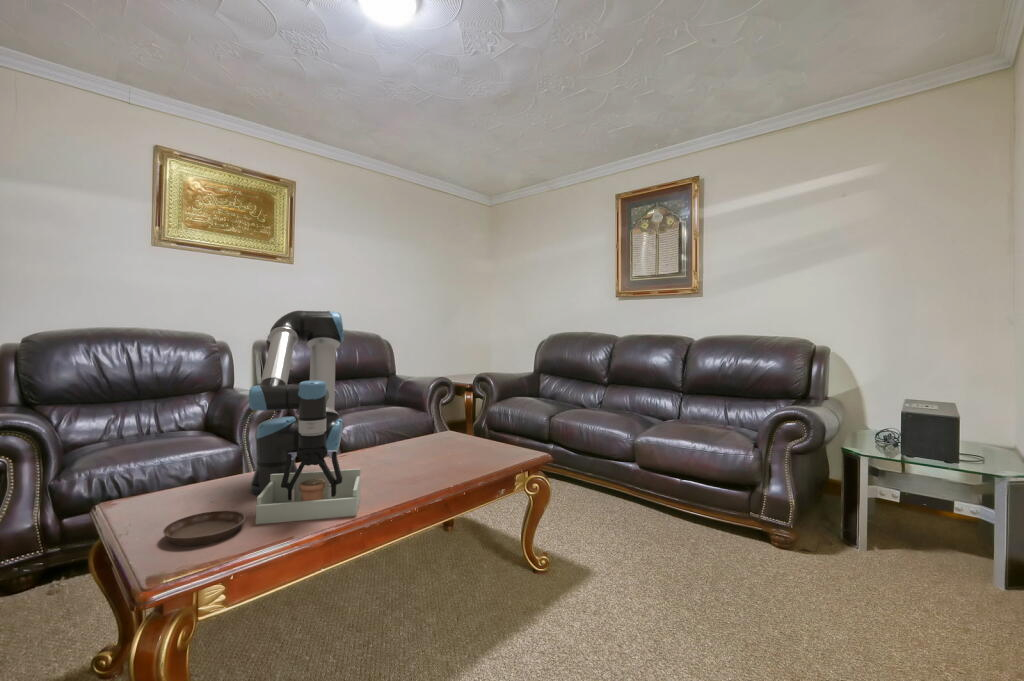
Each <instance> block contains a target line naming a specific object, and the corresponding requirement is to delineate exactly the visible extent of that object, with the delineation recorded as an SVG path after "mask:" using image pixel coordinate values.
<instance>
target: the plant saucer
mask: <svg viewBox="0 0 1024 681" xmlns="http://www.w3.org/2000/svg"><path fill="white" fill-rule="evenodd" d="M245 519H246V516H245V514H243V513H242V512H239V511H234V510H216V511H215V510H214V511H213V510H212V511H208V512H202V513H195V514H193V515H189V516H185V517H182V518H179V519H177V520H175V521H173V522H171V523H169V524H168V525H166V526H165V527H164V528H163V530H162V533H163V536H165V538H166V539H167V540H169V541H170V542H171V543H173V544H175V545H179V546H187V545H189V546H198V545H199V544H200V545H205V543H206V544H210V543H209V542H211V543H213V541H214V542H218V541H221V540H223V539H225V538H227V536H228V537H230V536H231V535H233V534H234V533H235V532H236V531H237V530H238V529H239V528H240V527H241V526H242V525H243V523H244V522H245ZM229 535H230V536H229ZM220 539H221V540H220ZM217 540H218V541H217Z"/></svg>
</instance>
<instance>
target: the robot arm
mask: <svg viewBox="0 0 1024 681" xmlns="http://www.w3.org/2000/svg"><path fill="white" fill-rule="evenodd" d="M268 340H269V343H270V344H269V348H268V351H267V352H268V353H267V355H266V356H267V357H266V361H265V363H264V368H263V372H262V374H261V375H262V376H261V380H260V383H259V384H258V385H253V386H251V387H250V389H249V391H248V405H249V408H250V409H251V410H252V411H265V412H266V411H279V410H298V420H297V419H296V417H295V416H283V417H282V416H281V417H276V418H275V417H274V418H270V419H268V420H264V421H262V422H260V423H259V424H258V425H257V427H256V436H255V439H256V441H255V442H256V444H255V445H256V451H255V452H256V468H255V471H254V474H253V476H252V479H251V482H250V488H249V489H250V493H251V494H252V495H257V496H259V495H260V493H261V492H262V491H263V490H264V489H265V487H266V486H267V485H268V484H269V483H270V475H271V474H282V473H284V476H283V479H282V483H281V487H282V488H287V489H288V500H292V502H296V487H293V486H294V484H295V482H296V480H297V478H298V477H299V475H300V473H301V472H302V471H303V469H304V467H305V466H306V467H310V466H319V468H320V469H321V471H323V472H324V474H325V476H326V477H327V479H328V481H329V483H330V485H329V487H328V499H332V497H335V495H336V485H337V484H341V483H342V480H343V479H342V475H341V471H340V470H341V468H340V464H339V460H338V451H339V449H340V445H341V441H342V433H343V425H344V419H342V418H341V417H339V416H340V415H339V413H338V411H336V410H335V400H336V399H335V398H336V397H335V396H336V394H335V392H336V390H335V389H336V357H337V355H336V354H337V353H336V352H337V351H336V350H337V349H339V348H340V347H341V343H342V342H344V341H345V333H344V325H343V319H342V314H341V313H340V312H339V311H331V310H327V311H326V310H325V311H321V310H294V311H293V310H292V311H290V312H288V313H286V314H284V315H283V316H280V318H278V319H277V320H276V321H275V323H273V325H272V327H271V328H270V331H269V334H268ZM298 342H305V343H306V346H307V347H308V348H309V349H310V362H309V363H310V365H309V380H304V381H301V382H299V384H288V381H289V377H290V372H291V371H290V370H291V365H292V360H293V354H294V348H295V346H296V345H297V344H298ZM327 455H328V456H329V459H331V463H332V464H331V465H332V467H333V470H334V471H335V475H336V480H335V478H334V476H333V475H332V473H331V471H330V470H331V469H330V468H329V466H328V465H327V462H326V460H325V458H326V457H327ZM296 458H298V459H299V460H300V464H299V465H298V467H297V465H296ZM290 473H295V475H294V476H293V478H292V480H291V482H290V483H288V478H289V475H290Z"/></svg>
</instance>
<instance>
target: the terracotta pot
mask: <svg viewBox="0 0 1024 681" xmlns="http://www.w3.org/2000/svg"><path fill="white" fill-rule="evenodd" d="M324 487H325V480H323V479H310V480H305V481H303V482H301V483H300V484H299V490H300V491H301V501H313V500H323V488H324Z"/></svg>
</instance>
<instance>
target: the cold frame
mask: <svg viewBox="0 0 1024 681" xmlns="http://www.w3.org/2000/svg"><path fill="white" fill-rule="evenodd" d="M329 470H330V471H331V473H332V475H333V476H334V478H335V480H336V475H335V471H334V469H333V470H331V469H329ZM340 471H341V475H342V479H343V480H342V483H341V484H337V485H336V495H335V497H332V499H328V487H329V485H330V483H329V481H328V479H327V477H326V476H325V474H324V472H323V470H316V471H315V470H313V471H303V472H302V471H301V473H300V475H299V477H298V478H297V480H296V482H295V484H294V486H293V487H296V502H292V500H288V489H287V488H282V487H281V483H282V479H283V476H284V473H282V474H271V475H270V483H269V484H268V485H267V486H266V487H265V489H264V490H263V491H262V492H261V493H260V495H257V497H256V506H255V525H265V524H275V523H276V524H277V523H286V522H288V523H289V522H298V521H308V520H309V521H310V520H311V521H312V520H322V519H323V520H324V519H335V518H344V517H356V516H357V515H358V509H359V504H360V499H361V468H349V469H348V468H347V469H340ZM294 475H295V473H290V475H289V478H288V483H290V482H291V480H292V478H293V476H294ZM310 479H323V480H325V487H324V488H323V500H313V501H301V491H300V490H299V484H300V483H301V482H303V481H305V480H310Z"/></svg>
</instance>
